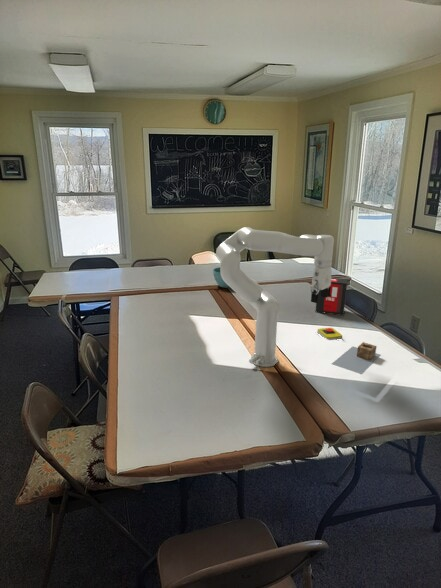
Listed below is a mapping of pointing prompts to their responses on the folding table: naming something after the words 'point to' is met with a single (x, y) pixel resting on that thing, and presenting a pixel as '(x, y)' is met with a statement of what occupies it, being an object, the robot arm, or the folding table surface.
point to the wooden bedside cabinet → (366, 351)
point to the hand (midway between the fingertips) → (319, 299)
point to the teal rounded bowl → (219, 278)
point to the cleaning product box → (333, 298)
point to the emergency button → (329, 333)
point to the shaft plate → (354, 361)
